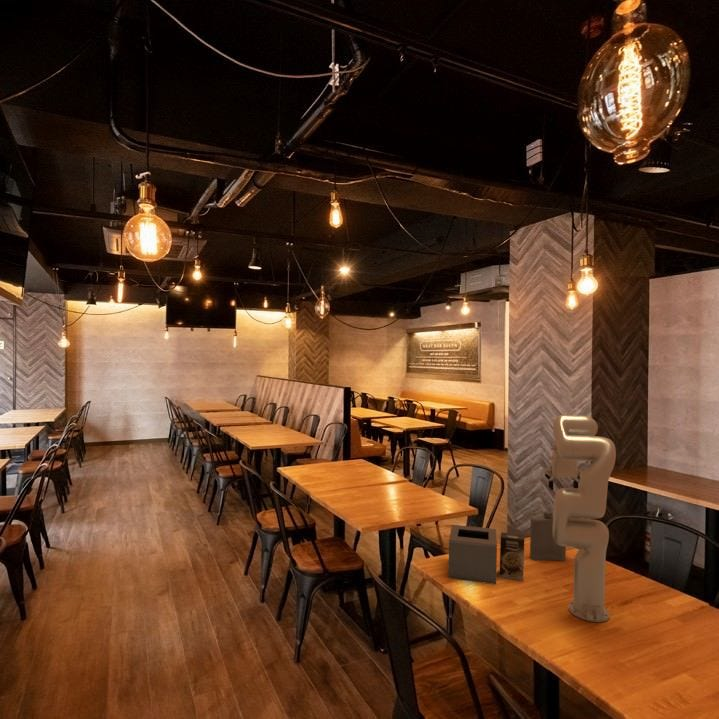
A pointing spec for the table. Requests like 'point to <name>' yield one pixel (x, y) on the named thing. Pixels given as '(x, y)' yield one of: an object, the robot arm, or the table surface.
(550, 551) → the flask
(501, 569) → the coffee box
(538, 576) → the table surface
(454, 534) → the slot box
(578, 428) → the robot arm
